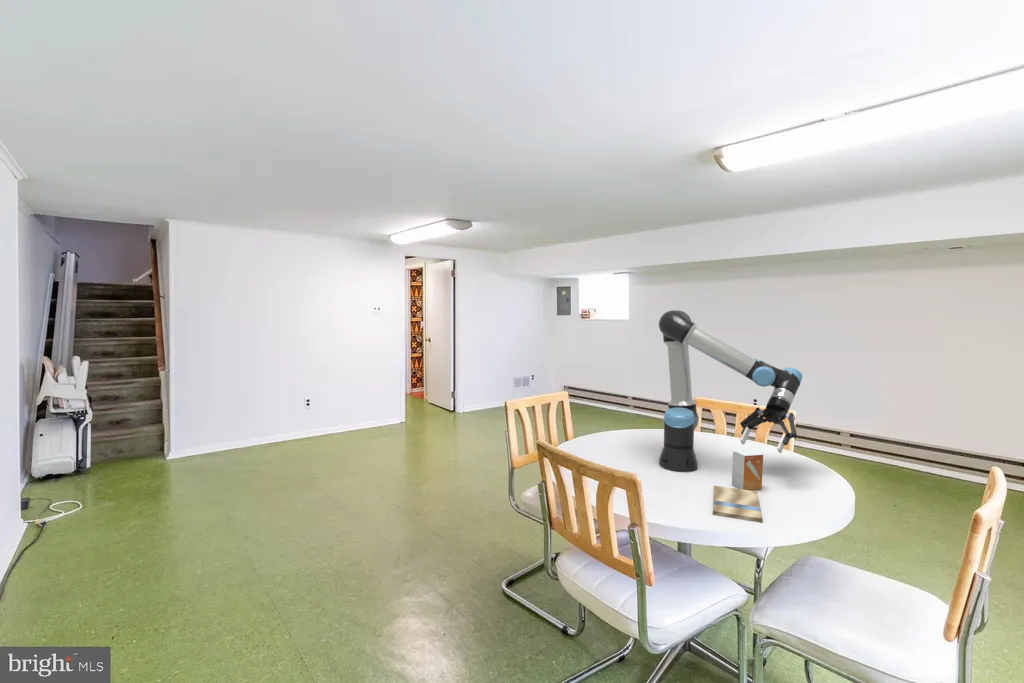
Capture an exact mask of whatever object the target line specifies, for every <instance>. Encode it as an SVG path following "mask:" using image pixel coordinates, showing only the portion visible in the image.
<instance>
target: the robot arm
mask: <svg viewBox="0 0 1024 683" xmlns="http://www.w3.org/2000/svg"><path fill="white" fill-rule="evenodd" d="M659 318H660V319H659V321H658V328H659V331H660V332H661V333H662V337H663V338H662V339H663V343H664V344H665V345H666V346H667V355H668V356H667V358H668V359H667V360H668V370H669V371H668V372H669V384H670V386H669V387H670V396H671V400H670V401H669V402H668V403H667V404H668V405H667V406H668V407H667V408H668V409H666V410H665V412H664V416H663V421H664V422H663V423H664V424H663V430H664V431H663V447H662V450H661V453H660V455H659V458H658V464H660V465H661V466H662V467H661V466H660V465H659V466H660V467H661V468H663V467H664V468H663V469H665V468H667V469H666V470H668V469H670V470H669V471H673V470H675V471H674V472H680V471H689V472H694V471H696V470H698V460H697V456H696V453H695V450H694V438H695V436H694V435H695V429H696V428H697V426H698V425H699V420H700V418H699V414H698V412H697V411H698V410H697V402H696V401H695V400H694V399H693V395H692V394H693V393H692V392H693V391H692V381H691V367H690V366H691V365H690V353H689V352H690V351H689V346H690V347H692V348H694V349H695V350H697V351H700V352H701V353H703V354H705V355H706V356H708V357H709V358H711V359H713V360H715V361H717V362H719V363H721V364H722V365H724V366H725V367H727V368H729V369H731V370H733V371H735V372H736V373H737V374H738V373H739V374H740V375H742V376H743V377H745V378H746V379H749V380H750V381H752V382H753V383H755V385H757V386H759V387H763V388H764V387H765V388H766V387H770V386H771V387H774V388H773V391H772V393H771V395H770V397H769V399H768V401H767V403H766V406H765V409H761V408H760V407H756V408H755V409H754V411H753V412H752V413H751V414H749V415H748V416H747V417H746V418H743V420H741V421H740V422H739V423H740V426H741V428H742V430H741V434H740V435H741V437H740V439H739V441H740V443H741V445H743V446H744V445H745V444H746V442H747V440H748V438H749V436H750V433H751V429H754V428H755V427H758V426H759V425H761V424H763V423H764V424H765V423H767V422H768V423H772V424H778V423H779V425H780V426H781V428H782V430H783V432H784V433H783V434H782V436H781V438H780V440H779V442H778V445H777V447H776V450H777V452H778V454H779V453H780V454H782V453H783V451H784V449H785V448H784V447H785V446H788V444H789V442H790V440H791V439H792V438H793V439H797V438H798V435H797V430H796V429H797V428H796V426H795V420H796V417H795V414H794V413H793V412H790V413H789V410H790V408H791V405H792V404H793V401H794V399H795V397H796V394H797V391H798V390H799V388H800V386H801V382H802V379H803V373H802V372H801V371H799V369H796V368H794V367H792V368H791V367H785V368H783V369H781V368H778V367H776V366H773V365H771V364H770V363H766V362H765V361H763V360H760V359H757V358H753V357H751V356H749V355H748V354H745V353H744V352H742V351H740V350H738V349H737V348H734V347H733V346H731V345H729V344H727V343H726V342H723V341H722V340H720V339H718V338H716V337H715V336H712V334H709V333H707V332H705V331H704V330H701V329H700V328H698V326H697V324H696V323H694V322H693V321H692V319H691V317H690V316H689V314H687V313H686V312H685V311H683V310H674V309H673V310H668V311H666V312H664V313H663V314H662V315H661V316H660V317H659ZM786 418H787V420H788V421H789V422H788V423H789V428H790V432H789V430H788V429H787V426H786V424H785V423H784V420H785V419H786ZM693 470H694V471H693Z"/></svg>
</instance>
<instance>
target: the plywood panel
mask: <svg viewBox="0 0 1024 683" xmlns="http://www.w3.org/2000/svg"><path fill="white" fill-rule="evenodd" d="M712 498H713V500H712V515H713V516H718V517H719V516H720V517H726V518H731V519H738V520H743V521H750V522H757V523H764V522H763V519H764V518H763V514H762V508H761V504H760V498H759V494H758V491H757V490H743V489H738V488H736V487H728V486H727V487H726V486H721V485H713V496H712Z"/></svg>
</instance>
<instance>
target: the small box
mask: <svg viewBox="0 0 1024 683" xmlns="http://www.w3.org/2000/svg"><path fill="white" fill-rule="evenodd" d="M763 467H764V454H763V453H761V452H758V451H756V450H753V449H742V450H733V451H732V466H731V468H732V469H731V470H732V472H731V486H733V487H734V488H735V489H743V490H750V491H757V490H758V491H759V490H762V489H763V488H762V487H763V470H764V468H763Z"/></svg>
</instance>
